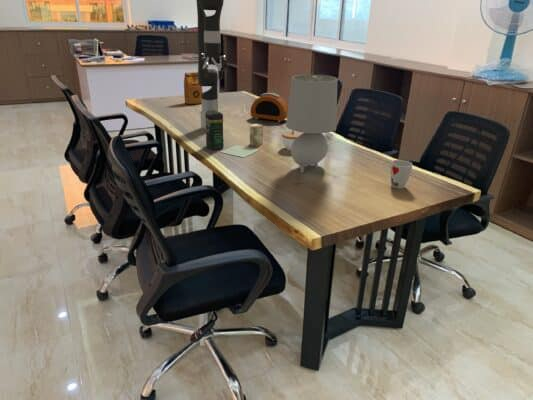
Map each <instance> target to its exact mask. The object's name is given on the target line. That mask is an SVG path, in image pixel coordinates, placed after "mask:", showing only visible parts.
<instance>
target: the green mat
mask: <svg viewBox="0 0 533 400" xmlns="http://www.w3.org/2000/svg"><path fill="white" fill-rule="evenodd" d="M259 151H260V149H257V148H253V147H247V146H243V145H238V144H235V145H233V146H231V147H228V148H225V149H224V150H221V151H220V153H222V154H225V155H229V156H234V157H238V158H247V157H249V156H250V155H253V154H255V153H257V152H259Z"/></svg>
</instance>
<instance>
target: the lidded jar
mask: <svg viewBox="0 0 533 400" xmlns="http://www.w3.org/2000/svg"><path fill="white" fill-rule="evenodd" d="M301 134H303V133H302V132H297V131H293V130H291V131H283V132H282V134H281V136H282V137H281V141H282V145H283V146H284V148H285V150H286V151H290V152H291V147H292V144H293V142H294V140H295V139H296V138H297V137H298V136H300V135H301Z"/></svg>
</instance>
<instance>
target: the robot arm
mask: <svg viewBox="0 0 533 400" xmlns="http://www.w3.org/2000/svg"><path fill="white" fill-rule="evenodd" d="M224 3H225V2H224V0H196V11H197V54H198V60H197V61H198V62H197V64H198V65H197V72H198V83H199V85H200V86H202V87H210V88H209V89H208V90H206V91H204V92H203V93H202V94H201V100H202V103H201V111H200V127H201V129H203V130H205V131H206V119H205V115H206V112H207V111H208V110H216V111H218V112H219V92H218V91H219V89H218V87H219V80H222V79H223V78H224V71H226V70H228V64H227V55H221V52H222V47H221V46H222V43H221V41H222V40H221V39H222V38H221V24H220V23H221V15H222V11H223V7H224ZM205 11H215V12H214V14H212V15H209V16H208V15H207V13H206V12H205ZM210 65H212V66H215V67H216V68H217V69H218V70H217V69H215V68H209V66H210Z"/></svg>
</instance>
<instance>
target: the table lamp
mask: <svg viewBox="0 0 533 400" xmlns="http://www.w3.org/2000/svg"><path fill="white" fill-rule="evenodd" d="M290 82H291V83H290V90H289V98H288V104H287V105H288V113H287V118H286V123H285V127H286V128H288V129H289V130H291V131H295V132H300V133H302V134H301V135H300V136H298V137H297V138H296V139H295V140H294V142H293V144H292V147H291V151H290V154H291V157H292V159H293V161H294V162H295V164H297V165H298V166H299V172H300V174H302V173H304V172H305V167H307V166H308V167H309V166H313V167H314V168H318V164H319V163H320V162H321V161H322V160H323V159H325V158H326V156H327V154H328V150H329V143H328V139H327V138H326V136H325V135H324V134H326V133H327V134H328V133H332V132H335V131H336V130H337V113H338V111H337V106H338V77H337V78H336V77H335V76H330V75H324V74H323V75H322V74H296V75H293V76H292V77H291V81H290Z"/></svg>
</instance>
